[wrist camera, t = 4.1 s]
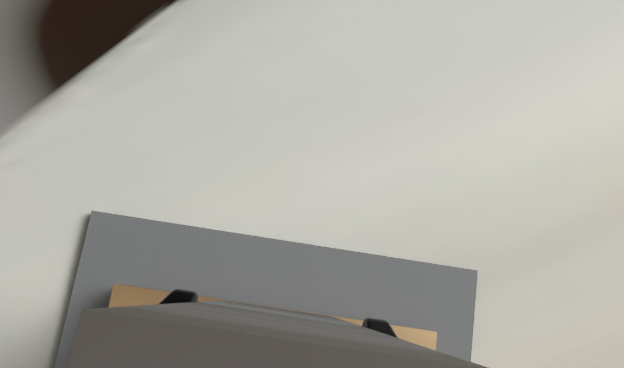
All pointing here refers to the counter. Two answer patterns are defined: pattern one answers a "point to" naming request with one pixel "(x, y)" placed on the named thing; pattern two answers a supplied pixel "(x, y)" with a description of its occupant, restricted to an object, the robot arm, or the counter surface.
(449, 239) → the counter surface
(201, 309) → the wooden base with post
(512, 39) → the counter surface
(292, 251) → the lane mat
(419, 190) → the counter surface
